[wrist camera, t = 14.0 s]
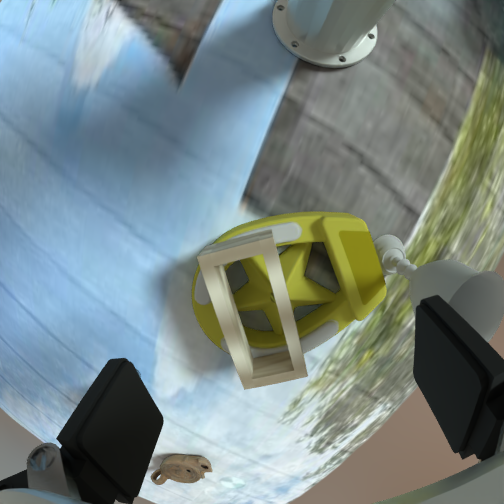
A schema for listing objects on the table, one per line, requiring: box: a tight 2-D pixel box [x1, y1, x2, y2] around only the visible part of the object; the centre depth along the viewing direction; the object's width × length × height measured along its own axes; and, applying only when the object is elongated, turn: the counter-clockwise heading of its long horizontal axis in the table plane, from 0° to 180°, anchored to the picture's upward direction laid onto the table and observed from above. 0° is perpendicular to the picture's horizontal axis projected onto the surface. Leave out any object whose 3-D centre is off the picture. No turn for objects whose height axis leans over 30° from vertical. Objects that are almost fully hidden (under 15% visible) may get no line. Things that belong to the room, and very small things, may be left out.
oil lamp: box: [151, 454, 212, 485], centre depth 42 cm, size 13×8×5 cm, turn 116°
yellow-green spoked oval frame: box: [192, 212, 386, 358], centre depth 33 cm, size 16×21×5 cm
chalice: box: [373, 235, 504, 342], centre depth 25 cm, size 7×7×18 cm
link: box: [197, 229, 308, 390], centre depth 30 cm, size 15×7×4 cm, turn 15°
